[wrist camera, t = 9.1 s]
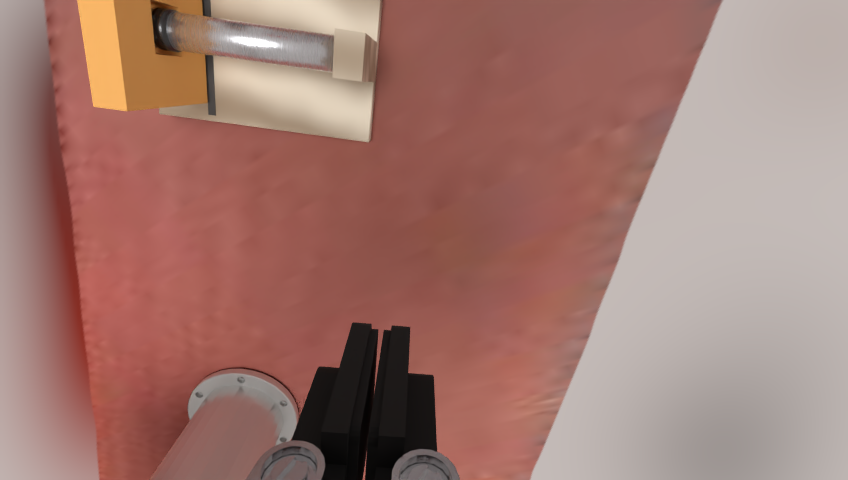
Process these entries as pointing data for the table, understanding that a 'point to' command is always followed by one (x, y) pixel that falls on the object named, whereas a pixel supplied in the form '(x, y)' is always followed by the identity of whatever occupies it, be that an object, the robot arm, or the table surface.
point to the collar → (138, 57)
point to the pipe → (242, 40)
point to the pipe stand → (296, 71)
